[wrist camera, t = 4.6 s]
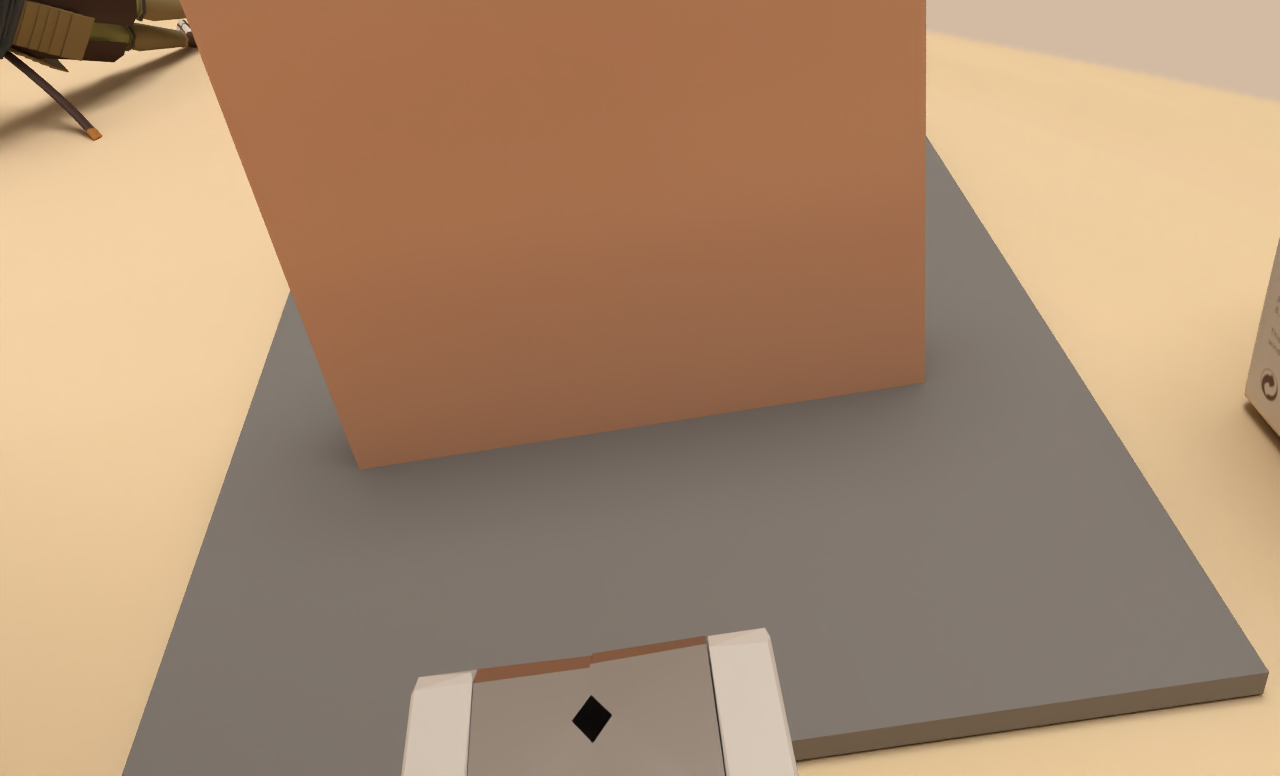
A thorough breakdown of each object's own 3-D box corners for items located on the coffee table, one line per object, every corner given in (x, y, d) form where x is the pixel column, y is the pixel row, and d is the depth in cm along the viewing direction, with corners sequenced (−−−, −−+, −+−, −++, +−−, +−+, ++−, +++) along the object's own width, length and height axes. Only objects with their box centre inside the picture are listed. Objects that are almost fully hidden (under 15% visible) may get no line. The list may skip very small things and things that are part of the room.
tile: (358, 469, 24) (128, -134, 17) (370, 415, 26) (162, -160, 19) (925, 382, 24) (926, -273, 17) (902, 331, 25) (895, -287, 18)
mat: (112, 858, 18) (98, 840, 18) (328, 209, 36) (323, 195, 36) (1262, 693, 18) (1269, 672, 17) (904, 116, 35) (903, 101, 35)
